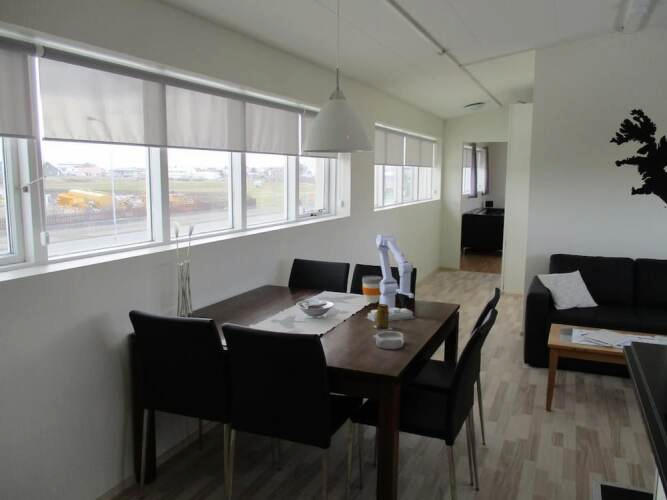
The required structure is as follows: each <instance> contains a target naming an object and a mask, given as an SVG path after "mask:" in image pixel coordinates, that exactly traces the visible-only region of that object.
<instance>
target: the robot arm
mask: <svg viewBox="0 0 667 500" xmlns="http://www.w3.org/2000/svg"><path fill="white" fill-rule="evenodd" d="M375 244H376V249H377V250H378V257H379V260H380V268H381V274H382V281H381V282H380V292H381V294H380V298H379V302H378V305H379V304H387V305H388V311H390V308H396V295H397V294H399V295H398V297H397V298H399V301H400V304H401V309H404V308H406V309H407V306H408V303H409V301H410V299H414V298H415V296H414V293H412V292H411V275H412V273H413V271H414V265H413V262H410V261H409V260H407V257H406V256H405V254H404V252H401V251H400V249H399V247H398V245H397V243H396V237H395V235H394V234H393V233H390V234H389V233H388V234H381V233H380V234H377V236H376V238H375ZM389 250H390V251H391V252H392V254H393V259H394V260H395V263H396V264H397V266H398V267H397V269H398V273H399V285H398V283H397V282H398V281H397V279H395V278H394V277H393V275H392V269H391V263H390V257H389Z"/></svg>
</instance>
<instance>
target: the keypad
mask: <svg viewBox="0 0 667 500" xmlns="http://www.w3.org/2000/svg"><path fill="white" fill-rule="evenodd" d="M389 312H390V311H389ZM364 318H365V319H366V320H368V321H371V322H372V323H374V324H377V316H374V315H372V314H371V312H367V316H364ZM416 318H417V317H416V316H414V312H413V311H412V310H410V312H400V313H394V314H393V313H391V314H389V318H388V319H389V320H388V322H394V321H395V322H396V321H403V320H411V319H416Z"/></svg>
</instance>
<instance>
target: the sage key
mask: <svg viewBox="0 0 667 500" xmlns="http://www.w3.org/2000/svg"><path fill="white" fill-rule="evenodd" d="M377 310H378V309H371V310H370V313H371V314H372V315H374V316H377Z"/></svg>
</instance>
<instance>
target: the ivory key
mask: <svg viewBox="0 0 667 500" xmlns="http://www.w3.org/2000/svg"><path fill="white" fill-rule="evenodd" d="M400 309H401V312H410V311H411V309H408V308H407V307H406V308H400Z"/></svg>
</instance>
